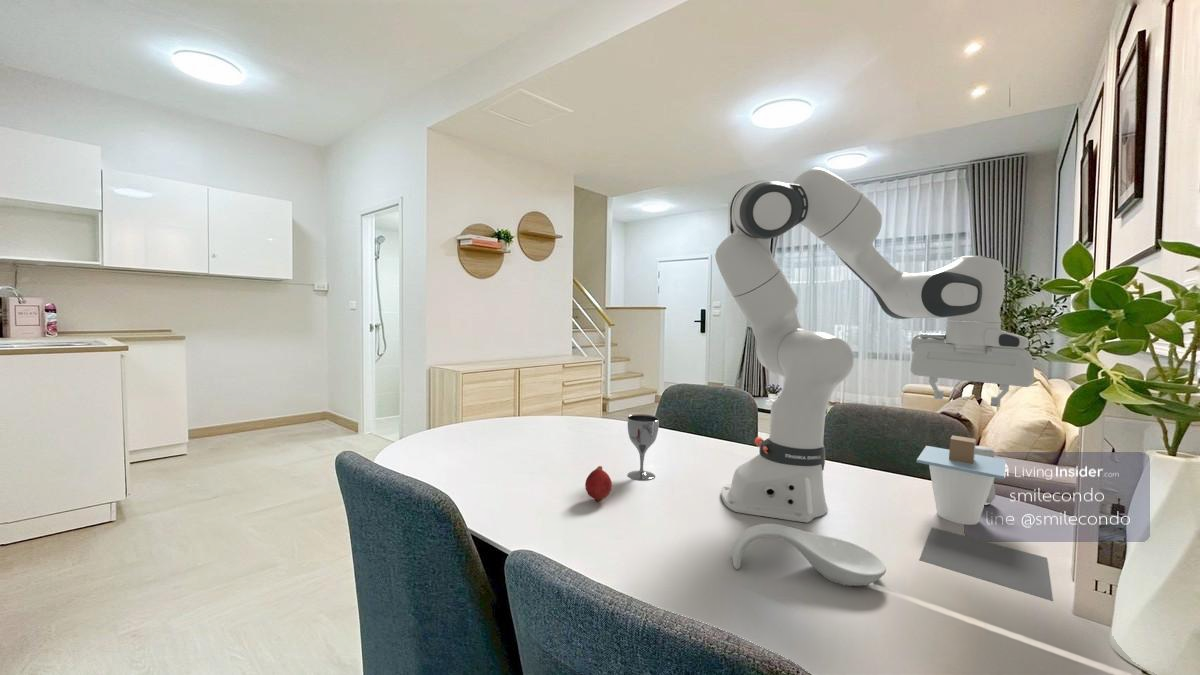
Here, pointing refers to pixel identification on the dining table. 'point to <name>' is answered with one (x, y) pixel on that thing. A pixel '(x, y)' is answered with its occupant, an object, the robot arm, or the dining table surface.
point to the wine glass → (642, 440)
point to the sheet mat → (989, 562)
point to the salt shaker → (990, 453)
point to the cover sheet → (961, 466)
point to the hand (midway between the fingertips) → (965, 402)
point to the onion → (598, 484)
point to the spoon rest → (819, 554)
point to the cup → (959, 494)
